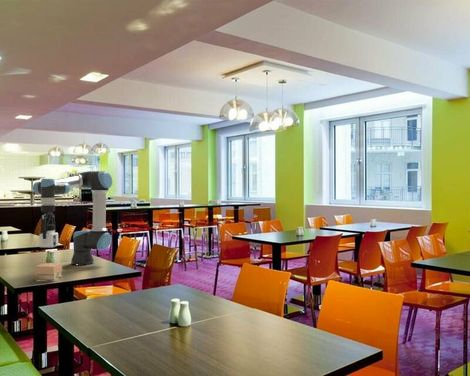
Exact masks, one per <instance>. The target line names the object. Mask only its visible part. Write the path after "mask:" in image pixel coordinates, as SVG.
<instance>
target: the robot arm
mask: <svg viewBox="0 0 470 376" xmlns="http://www.w3.org/2000/svg"><path fill="white" fill-rule="evenodd" d="M112 185H113V179H112V175H111V174H110V173H109V172H108V171H105V170H104V171H103V170H97V171H95V170H94V171H93V170H92V171H91V170H90V171H83V172H78V173H75V174H73V175H72V176H68V177H67V176H66V177H62V178H57V179H54V178H42V179H41V180H40V181H37V182H34V183H33V185H32V191H33V192H34V194H36V195H40V211H41V212H42V213H43V214H42V215H40V219H41V220H40V232H39V233H40V234H42V244H43V245H47V244H48V233H47V229H48V224H53V225H55V226H56V220H55V219H56V218H55V217H56V214H55V213H53V212H55V211H56V206H55V204H56V196H55V195H67V194H68V193H69V192H70V190H71V189H73V188H76V189H80V188H83V189H84V188H85V189H87V188H88V189H90V191H91V192H92V228H91V229H88V230H87V229H86V230H85V229H84V230H78V231H74V232H73V237H72V239H73V241H72V242H73V254H72V257H71V261H70V265H71V264H78V265H77V266H83V265H82V264H89V265H91V264H90V263H93V262H94V263H95V260H94V257H93V254H92V250H95V251H96V250H98V251H104V250H105V251H106V250H107V249H108V248H109V247H110V245H111V243H112V236H111V234H110V232H109V230H108V229H107V228H106V227H107V226H106V225H107V224H106V221H107V220H106V218H107V217H106V216H107V215H106V214H107V213H106V212H107V193H108V192H109V189H110V188H111V187H112ZM55 232H56V227H55ZM94 263H93V264H94Z"/></svg>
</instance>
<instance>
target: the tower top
mask: <svg viewBox="0 0 470 376" xmlns="http://www.w3.org/2000/svg"><path fill="white" fill-rule="evenodd" d="M60 271H63V262H43V263H40V264H38V265H35V266H34V274H55V273H58V272H60Z"/></svg>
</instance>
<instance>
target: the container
mask: <svg viewBox="0 0 470 376" xmlns="http://www.w3.org/2000/svg"><path fill="white" fill-rule="evenodd" d="M55 228H56V224H55V225H53V224H48V229H47V233H48V244H47V245H43V244H42V233H39V238H38V239H39V241H38V242H39V243H38V244H39V248H55V247H57V246H59V233H58V232H56V231H55V230H56V229H55Z"/></svg>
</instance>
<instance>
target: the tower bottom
mask: <svg viewBox="0 0 470 376" xmlns="http://www.w3.org/2000/svg"><path fill="white" fill-rule="evenodd" d="M62 271H63V270H62ZM62 271H60V272H58V273H55V274H35V273H34V274H35V275H34V277H35V280H55V279H57V278H59V277H61V276H62V277H63V272H62ZM62 277H61V278H62ZM35 280H34V281H35Z"/></svg>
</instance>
